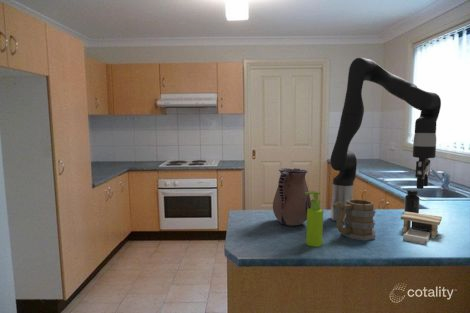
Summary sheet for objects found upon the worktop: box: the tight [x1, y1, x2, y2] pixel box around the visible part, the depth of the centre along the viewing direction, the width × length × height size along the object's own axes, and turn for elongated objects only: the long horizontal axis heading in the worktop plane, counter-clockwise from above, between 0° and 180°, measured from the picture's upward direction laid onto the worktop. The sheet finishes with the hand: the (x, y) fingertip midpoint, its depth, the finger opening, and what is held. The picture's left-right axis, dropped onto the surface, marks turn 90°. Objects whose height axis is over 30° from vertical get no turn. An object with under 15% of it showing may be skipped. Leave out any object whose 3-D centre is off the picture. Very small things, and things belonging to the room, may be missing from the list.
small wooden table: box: [400, 212, 443, 239], centre depth 140 cm, size 11×14×7 cm
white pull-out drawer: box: [402, 227, 432, 245], centre depth 133 cm, size 15×8×2 cm, turn 144°
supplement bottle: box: [404, 189, 421, 214], centre depth 172 cm, size 7×7×12 cm
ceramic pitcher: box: [272, 167, 311, 227], centre depth 148 cm, size 18×21×25 cm
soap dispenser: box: [305, 190, 324, 248], centre depth 123 cm, size 6×7×20 cm
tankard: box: [333, 198, 377, 241], centre depth 133 cm, size 20×13×15 cm, turn 110°
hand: (422, 187), depth 126 cm, fingers open, 8 cm apart
